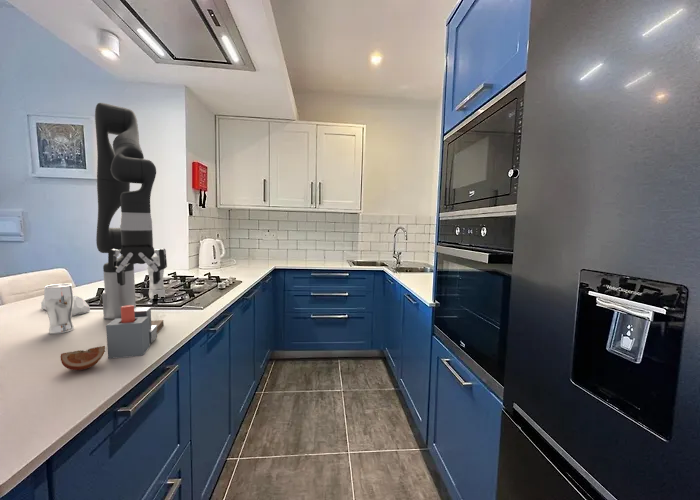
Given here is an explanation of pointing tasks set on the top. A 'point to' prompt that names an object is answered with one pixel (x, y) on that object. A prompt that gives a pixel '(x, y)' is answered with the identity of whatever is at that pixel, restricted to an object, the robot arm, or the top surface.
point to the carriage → (152, 329)
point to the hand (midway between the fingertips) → (139, 284)
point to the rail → (158, 324)
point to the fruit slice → (82, 358)
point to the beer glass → (59, 307)
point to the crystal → (75, 306)
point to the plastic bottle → (159, 286)
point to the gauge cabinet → (127, 338)
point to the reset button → (127, 314)
